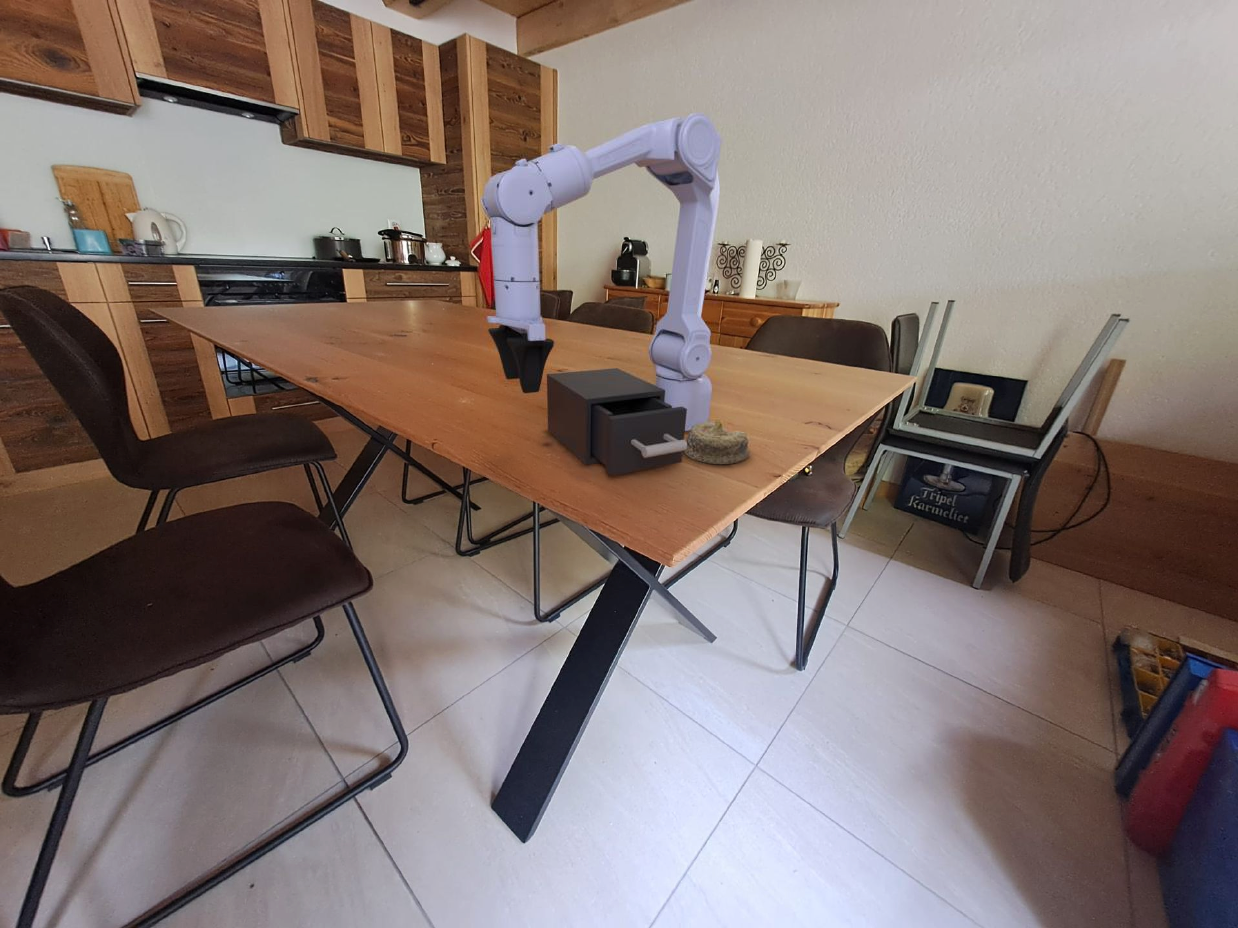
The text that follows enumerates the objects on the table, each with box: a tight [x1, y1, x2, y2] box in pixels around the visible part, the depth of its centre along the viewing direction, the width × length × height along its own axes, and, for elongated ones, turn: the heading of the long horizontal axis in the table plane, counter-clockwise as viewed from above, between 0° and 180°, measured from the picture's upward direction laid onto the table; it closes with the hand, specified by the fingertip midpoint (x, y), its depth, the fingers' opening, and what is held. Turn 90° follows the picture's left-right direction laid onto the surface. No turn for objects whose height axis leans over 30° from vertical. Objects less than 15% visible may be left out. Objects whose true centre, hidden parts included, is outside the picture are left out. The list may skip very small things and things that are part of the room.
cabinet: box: [546, 367, 665, 466], centre depth 73 cm, size 15×13×10 cm
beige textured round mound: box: [683, 419, 750, 465], centre depth 71 cm, size 10×10×5 cm
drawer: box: [590, 397, 687, 477], centre depth 66 cm, size 18×11×8 cm, turn 29°
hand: (521, 385), depth 66 cm, fingers open, 7 cm apart
